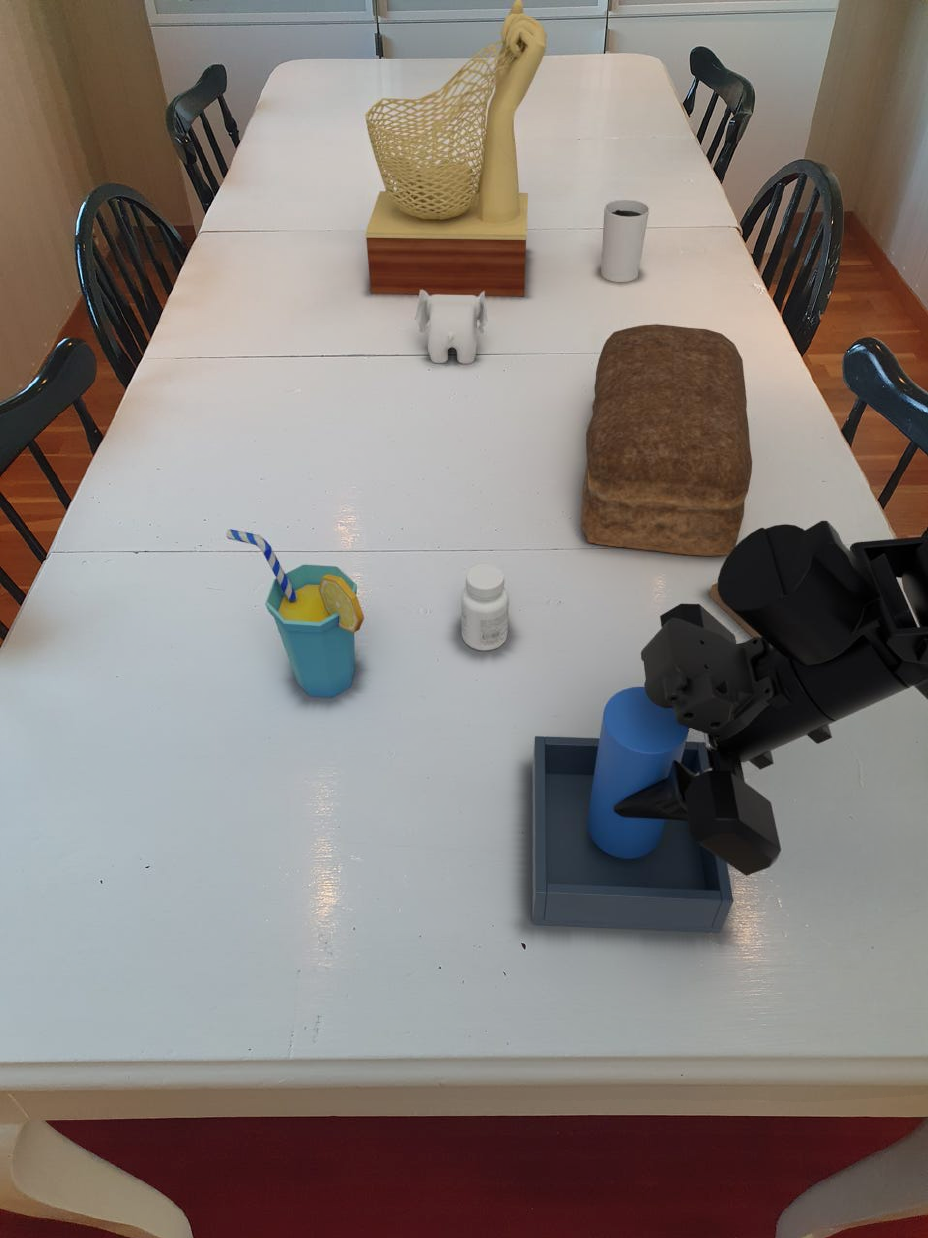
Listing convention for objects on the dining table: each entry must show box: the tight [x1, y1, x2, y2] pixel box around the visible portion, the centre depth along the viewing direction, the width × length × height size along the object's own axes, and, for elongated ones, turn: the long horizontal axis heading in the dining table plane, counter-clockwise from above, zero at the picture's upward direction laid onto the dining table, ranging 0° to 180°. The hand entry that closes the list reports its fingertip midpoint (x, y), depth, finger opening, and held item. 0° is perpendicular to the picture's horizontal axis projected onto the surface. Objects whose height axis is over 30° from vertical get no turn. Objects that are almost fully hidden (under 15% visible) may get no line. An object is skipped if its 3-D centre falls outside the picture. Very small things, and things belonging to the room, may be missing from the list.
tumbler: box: [587, 686, 690, 859], centre depth 64 cm, size 6×6×13 cm
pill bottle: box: [460, 563, 510, 651], centre depth 84 cm, size 4×4×8 cm
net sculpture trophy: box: [364, 0, 548, 297], centre depth 130 cm, size 25×18×35 cm
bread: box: [580, 323, 753, 557], centre depth 100 cm, size 17×30×13 cm, turn 170°
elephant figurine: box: [414, 290, 489, 365], centre depth 122 cm, size 10×12×9 cm
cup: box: [225, 528, 365, 699], centre depth 78 cm, size 14×8×15 cm, turn 62°
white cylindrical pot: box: [600, 199, 650, 283], centre depth 138 cm, size 7×7×10 cm
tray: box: [531, 735, 734, 934], centre depth 69 cm, size 14×14×5 cm
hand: (614, 776), depth 64 cm, fingers closed on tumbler, 5 cm apart
